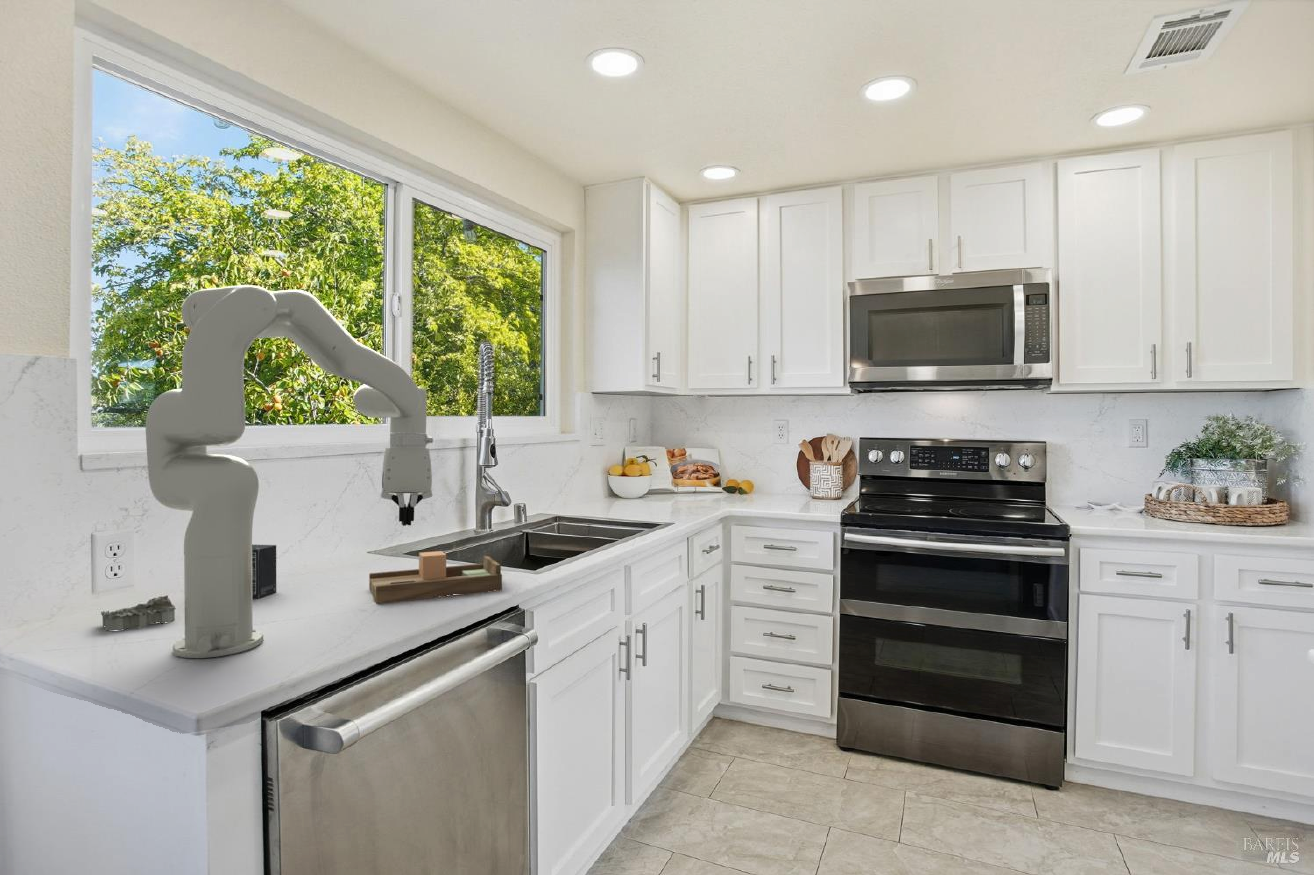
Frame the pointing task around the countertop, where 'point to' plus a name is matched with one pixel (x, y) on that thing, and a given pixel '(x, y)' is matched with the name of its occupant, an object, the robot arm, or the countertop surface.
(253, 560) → the small box
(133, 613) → the egg carton
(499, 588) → the wooden desk organizer
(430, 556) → the block
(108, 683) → the countertop surface
